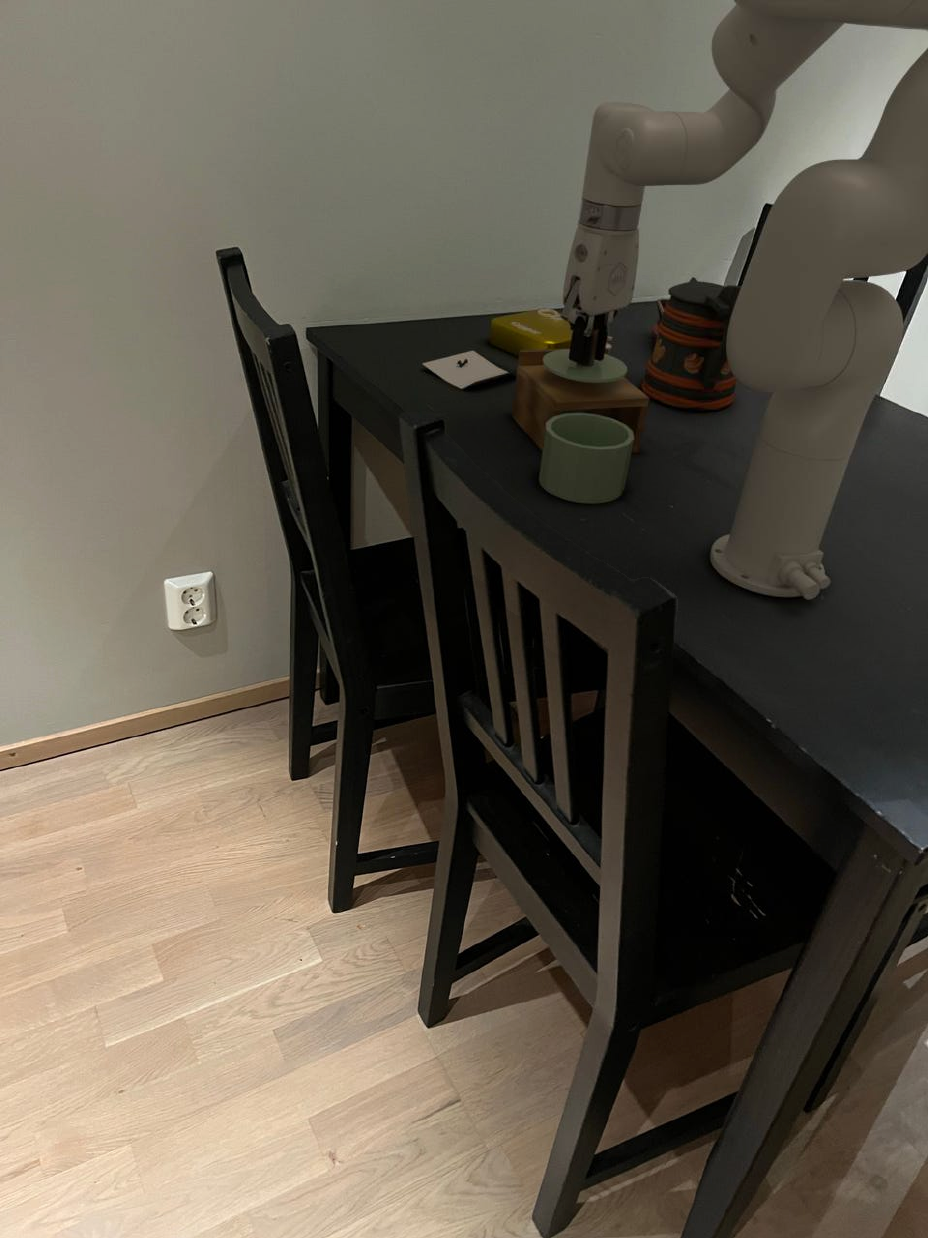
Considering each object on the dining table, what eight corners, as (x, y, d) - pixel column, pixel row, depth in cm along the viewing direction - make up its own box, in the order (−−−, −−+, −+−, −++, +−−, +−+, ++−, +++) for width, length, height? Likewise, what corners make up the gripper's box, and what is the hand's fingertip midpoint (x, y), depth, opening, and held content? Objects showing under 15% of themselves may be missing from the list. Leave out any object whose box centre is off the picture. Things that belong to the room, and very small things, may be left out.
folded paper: (472, 356, 155) (473, 345, 154) (525, 378, 149) (526, 367, 148) (420, 370, 148) (421, 358, 147) (473, 394, 141) (474, 381, 140)
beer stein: (760, 424, 140) (797, 291, 129) (671, 424, 137) (701, 288, 126) (710, 379, 155) (740, 256, 144) (629, 378, 153) (652, 253, 141)
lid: (640, 385, 123) (649, 340, 120) (561, 388, 120) (568, 342, 116) (603, 355, 132) (611, 312, 129) (529, 357, 129) (534, 314, 125)
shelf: (638, 452, 128) (652, 383, 122) (549, 458, 124) (559, 387, 118) (595, 412, 139) (606, 347, 133) (511, 416, 135) (519, 349, 129)
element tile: (484, 343, 162) (486, 315, 159) (542, 330, 171) (546, 304, 168) (545, 369, 153) (549, 340, 150) (603, 354, 162) (608, 327, 159)
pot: (638, 499, 116) (649, 445, 112) (558, 506, 113) (567, 451, 108) (601, 462, 124) (610, 410, 120) (526, 467, 121) (532, 414, 117)
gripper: (594, 229, 108) (570, 380, 118) (669, 216, 118) (642, 356, 128) (545, 215, 112) (526, 363, 122) (622, 204, 122) (599, 341, 132)
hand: (586, 358), depth 125 cm, fingers closed on lid, 2 cm apart
